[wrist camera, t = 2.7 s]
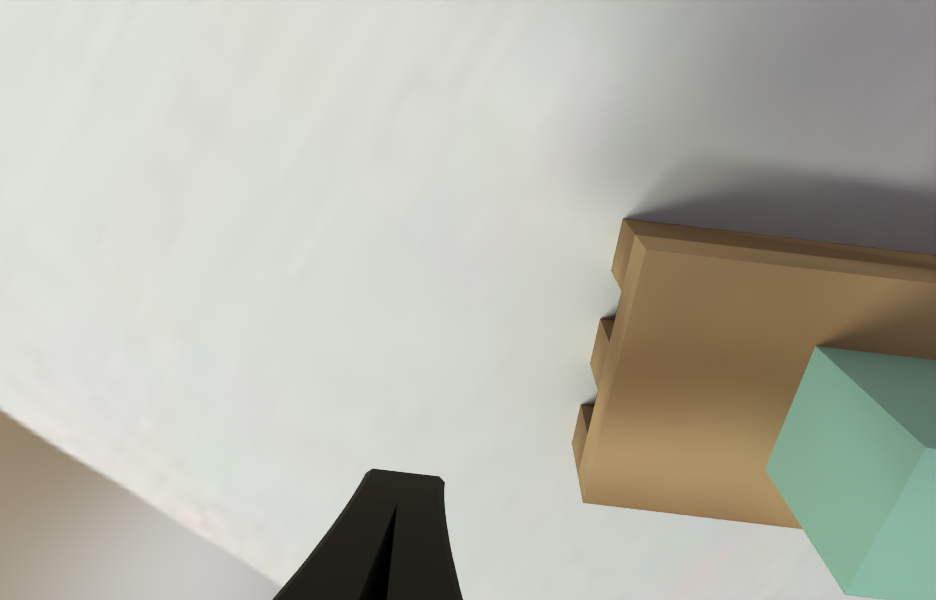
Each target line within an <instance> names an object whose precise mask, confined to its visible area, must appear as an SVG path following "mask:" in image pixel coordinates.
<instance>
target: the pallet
mask: <svg viewBox="0 0 936 600" xmlns="http://www.w3.org/2000/svg"><path fill="white" fill-rule="evenodd" d="M611 271H612V273H613V275H614V277H615V279H616V281H617V283H618V285H619V287H620V289H621V291H622V292H621V296H620V300H619V305H618V309H617V313H616V317H615V320H607V319H600V322H599V326H598V331H597V335H596V340H595V344H594V348H593V353H592V357H591V362H590V364H591V368H592V371H593V375H594V378H595V382H596V385H597V388H598V393H597V397H596V401H595V405H594V406H587V405H581V406H580V410H579V415H578V419H577V424H576V428H575V432H574V437H573V441H572V446H573V451H574V457H575V462H576V467H577V473H578V478H579V484H580V489H581V494H582V500H583V503H590V504H598V505H606V506H615V507H623V508H631V509H640V510H648V511H656V512H665V513H673V514H681V515H690V516H698V517H706V518H715V519H723V520H731V521H740V522H748V523H756V524H765V525H773V526H781V527H790V528H798V529H803V528H802V527H801V525H800V524H799V522H798V521H797V519H796V517H795V516H794V514H793V513H792V511H791V510H790V508H789V507H788V505H787V503H786V502H785V500H784V499H783V497H782V496H781V494H780V492H779V491H778V489H777V488H776V486H775V485H774V483H773V482H772V480H771V478H770V477H769V475H768V474H767V472H766V471H765V467H766V465H767V463H768V460H769V458H770V455H771V453H772V450H773V448H774V446H775V443H776V441H777V438H778V436H779V433H780V431H781V429H782V426H783V424H784V421H785V419H786V416H787V414H788V412H789V409H790V407H791V404H792V402H793V399H794V397H795V395H796V392H797V390H798V387H799V385H800V382H801V380H802V378H803V375H804V373H805V370H806V368H807V365H808V363H809V361H810V358H811V356H812V353H813V351H814V348H815V346H819V347H828V348H836V349H845V350H853V351H862V352H870V353H879V354H887V355H896V356H904V357H913V358H921V359H929V360H936V255H929V254H921V253H912V252H904V251H895V250H887V249H878V248H870V247H861V246H853V245H844V244H836V243H827V242H819V241H810V240H802V239H793V238H785V237H776V236H768V235H759V234H750V233H742V232H733V231H725V230H716V229H708V228H699V227H691V226H682V225H674V224H665V223H657V222H648V221H640V220H631V219H623V220H622V225H621V229H620V234H619V238H618V242H617V247H616V251H615V256H614V260H613V264H612V269H611Z"/></svg>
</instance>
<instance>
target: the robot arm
mask: <svg viewBox="0 0 936 600" xmlns="http://www.w3.org/2000/svg"><path fill="white" fill-rule="evenodd" d="M444 485H445V482H444V481H443V480H442V479H441V478H440V477H439V476H430V475H422V474H413V473H405V472H396V471H388V470H379V469H371V470H370V471H368V472H367V473H366V474H365V476H364V478H363V480H362V481H361V483H360V485H359V486H358V488H357V490H356V491H355V493H354V494H353V496H352V498H351V499H350V501H349V502H348V504H347V505H346V507H345V508H344V510H343V511H342V512H341V514H340V515H339V517H338V518H337V519H336V521H335V522H334V524H333V525H332V527H331V528H330V529H329V531H328V532H327V533H326V534H325V536H324V537H323V538H322V540H321V541H320V542H319V544H318V545H317V546H316V548H315V549H314V550H313V551H312V553H311V554H310V555H309V557H308V558H307V559H306V561H305V562H304V563H303V564H302V565H301V567H300V568H299V569H298V570H297V572H296V573H295V574H294V575H293V576H292V577H291V579H290V580H289V581H288V582H287V583H286V584H285V586H284V587H283V588H282V589H281V590H280V591H279V593H278V594H277V595H276V596H275V597H274V598H273V600H463V598H462V595H461V591H460V587H459V583H458V578H457V574H456V570H455V565H454V561H453V557H452V552H451V547H450V542H449V536H448V529H447V523H446V515H445V504H444Z"/></svg>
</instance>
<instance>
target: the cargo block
mask: <svg viewBox="0 0 936 600" xmlns="http://www.w3.org/2000/svg"><path fill="white" fill-rule="evenodd" d="M765 471H766V472H767V474H768V475H769V477H770V478H771V480H772V482H773V483H774V485H775V486H776V488H777V489H778V491H779V492H780V494H781V496H782V497H783V499H784V500H785V502H786V503H787V505H788V507H789V508H790V510H791V511H792V513H793V514H794V516H795V517H796V519H797V521H798V522H799V524H800V525H801V527H802V528H803V530H804V532H805V533H806V535H807V536H808V538H809V539H810V541H811V542H812V544H813V546H814V547H815V549H816V550H817V552H818V553H819V555H820V556H821V558H822V560H823V561H824V563H825V564H826V566H827V567H828V569H829V571H830V572H831V574H832V575H833V577H834V578H835V580H836V581H837V583H838V585H839V586H840V588H841V589H842V591H843V592H844V594H845V595H852V596H860V597H869V598H877V599H885V600H936V360H929V359H921V358H913V357H904V356H896V355H887V354H879V353H870V352H862V351H853V350H845V349H836V348H828V347H819V346H815V348H814V351H813V353H812V356H811V358H810V361H809V363H808V365H807V368H806V370H805V373H804V375H803V378H802V380H801V382H800V385H799V387H798V390H797V392H796V395H795V397H794V399H793V402H792V404H791V407H790V409H789V412H788V414H787V416H786V419H785V421H784V424H783V426H782V429H781V431H780V433H779V436H778V438H777V441H776V443H775V446H774V448H773V450H772V453H771V455H770V458H769V460H768V463H767V465H766V467H765Z"/></svg>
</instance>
